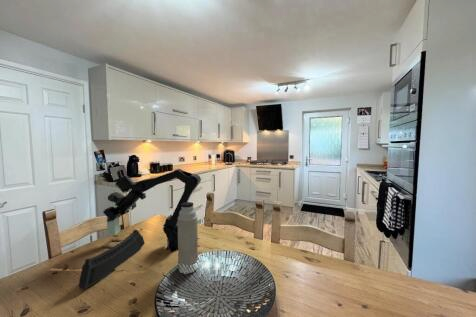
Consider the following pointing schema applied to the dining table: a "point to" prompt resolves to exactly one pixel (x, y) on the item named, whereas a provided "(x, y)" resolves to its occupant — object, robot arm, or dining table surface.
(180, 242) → the thermos bottle
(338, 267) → the dining table surface
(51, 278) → the dining table surface
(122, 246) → the magazine
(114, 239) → the rack
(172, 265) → the dining table surface
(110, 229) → the pale green block
